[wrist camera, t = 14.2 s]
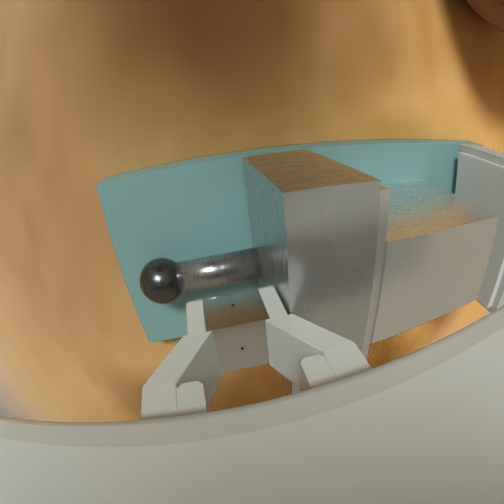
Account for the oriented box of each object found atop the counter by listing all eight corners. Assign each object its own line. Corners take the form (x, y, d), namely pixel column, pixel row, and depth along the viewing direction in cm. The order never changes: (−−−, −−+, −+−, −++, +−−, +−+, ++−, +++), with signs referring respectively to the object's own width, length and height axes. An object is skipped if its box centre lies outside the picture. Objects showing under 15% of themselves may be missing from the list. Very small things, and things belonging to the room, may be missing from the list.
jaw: (167, 342, 14) (169, 431, 9) (117, 180, 10) (71, 234, 6) (320, 310, 15) (366, 383, 10) (319, 147, 11) (399, 178, 7)
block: (319, 273, 14) (371, 343, 10) (319, 192, 12) (388, 242, 8) (416, 250, 15) (476, 299, 11) (423, 180, 13) (498, 216, 9)
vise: (150, 327, 15) (146, 427, 10) (104, 178, 11) (43, 237, 6) (454, 255, 18) (514, 302, 12) (468, 141, 14) (548, 169, 8)
